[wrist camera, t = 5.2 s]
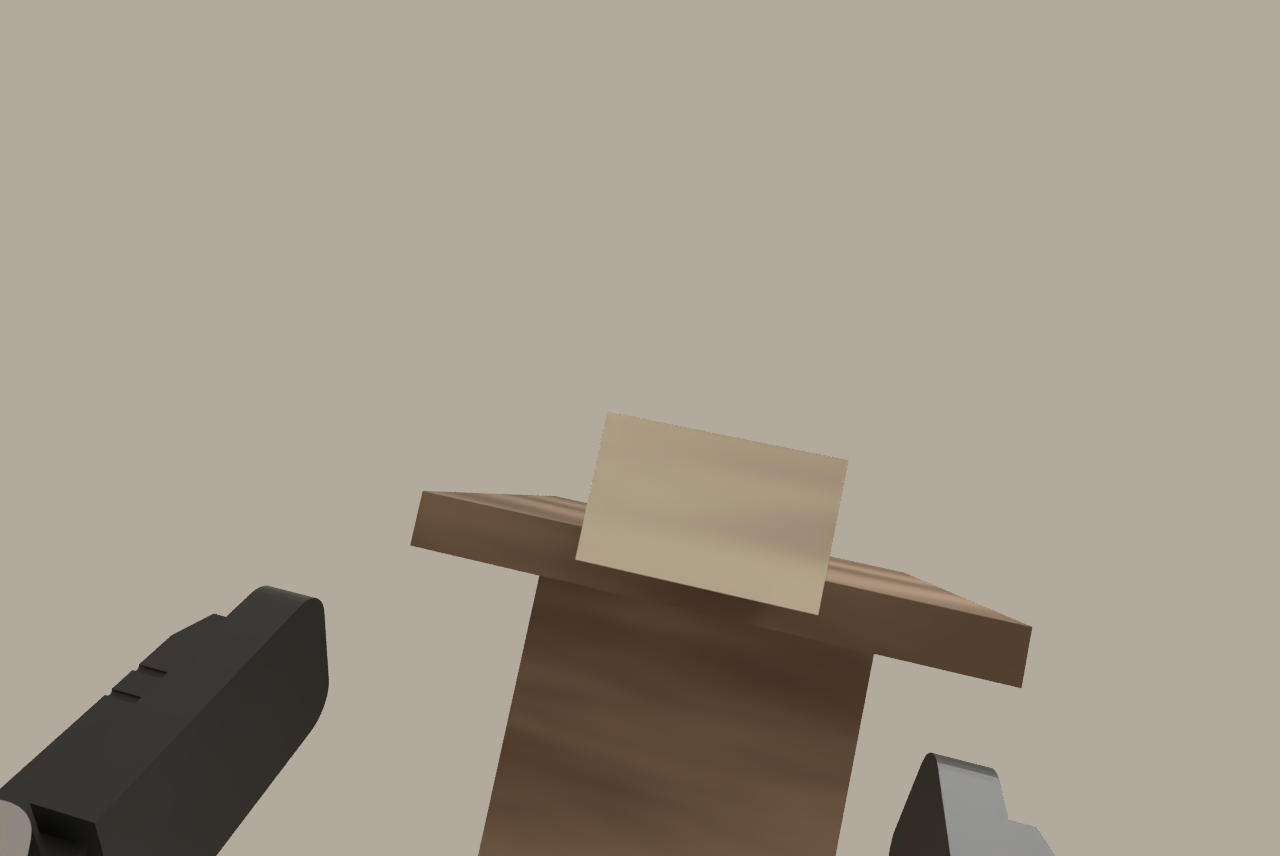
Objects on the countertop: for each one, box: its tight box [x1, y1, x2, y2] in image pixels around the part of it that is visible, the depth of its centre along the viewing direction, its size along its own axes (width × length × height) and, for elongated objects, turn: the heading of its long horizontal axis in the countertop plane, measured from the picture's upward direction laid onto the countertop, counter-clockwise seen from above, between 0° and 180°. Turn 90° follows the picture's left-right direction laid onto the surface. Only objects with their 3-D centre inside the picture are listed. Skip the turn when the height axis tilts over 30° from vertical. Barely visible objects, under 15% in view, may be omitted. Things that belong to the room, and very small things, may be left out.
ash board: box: [575, 412, 848, 615], centre depth 23 cm, size 20×4×2 cm, turn 173°
